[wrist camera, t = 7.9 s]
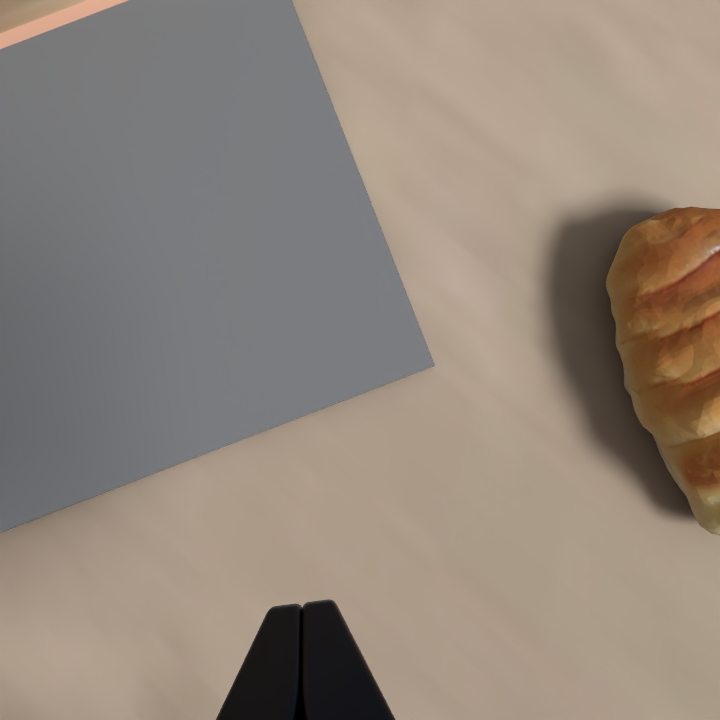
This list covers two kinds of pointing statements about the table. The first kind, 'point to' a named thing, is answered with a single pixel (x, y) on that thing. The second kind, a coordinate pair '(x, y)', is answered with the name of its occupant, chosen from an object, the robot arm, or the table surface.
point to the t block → (29, 11)
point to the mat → (176, 245)
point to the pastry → (674, 344)
